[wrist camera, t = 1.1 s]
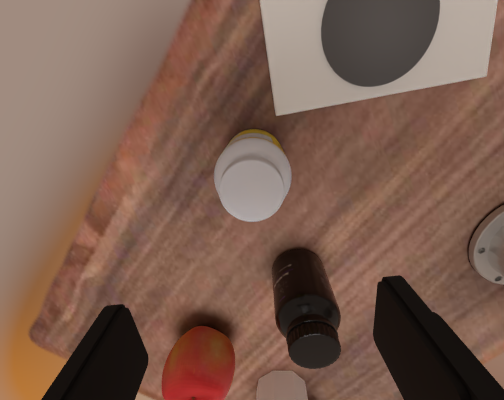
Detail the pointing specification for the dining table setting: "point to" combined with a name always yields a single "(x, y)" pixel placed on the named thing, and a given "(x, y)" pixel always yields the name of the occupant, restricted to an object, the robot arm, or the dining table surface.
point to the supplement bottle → (306, 309)
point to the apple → (199, 366)
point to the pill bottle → (252, 175)
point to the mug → (281, 386)
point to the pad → (377, 37)
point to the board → (340, 91)
